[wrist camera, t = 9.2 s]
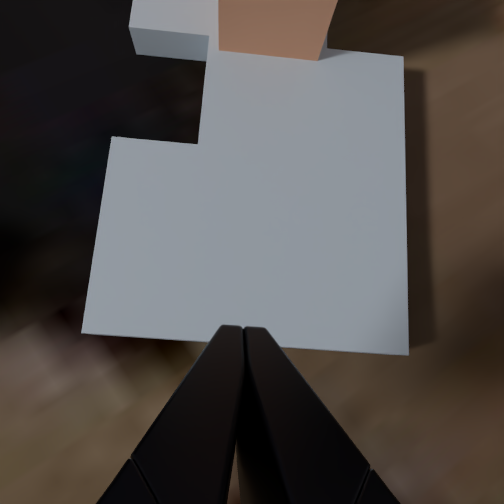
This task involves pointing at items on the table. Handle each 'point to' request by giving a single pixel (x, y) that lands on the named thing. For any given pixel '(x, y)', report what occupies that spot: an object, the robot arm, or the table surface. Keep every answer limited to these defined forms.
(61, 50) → the table surface
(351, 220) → the trap board
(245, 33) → the block
